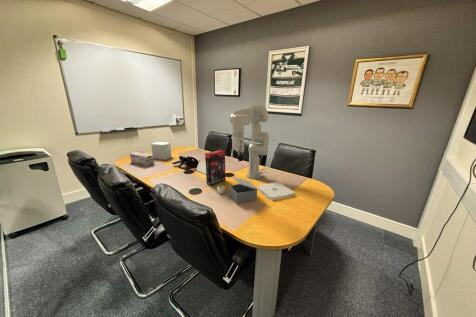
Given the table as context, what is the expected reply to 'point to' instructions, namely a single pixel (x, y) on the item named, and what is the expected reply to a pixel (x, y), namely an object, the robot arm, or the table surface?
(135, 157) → the surgical sutures box
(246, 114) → the robot arm
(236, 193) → the carton
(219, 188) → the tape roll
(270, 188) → the computer
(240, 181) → the lid
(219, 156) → the graphics card box
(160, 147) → the supplement box
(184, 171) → the table surface
